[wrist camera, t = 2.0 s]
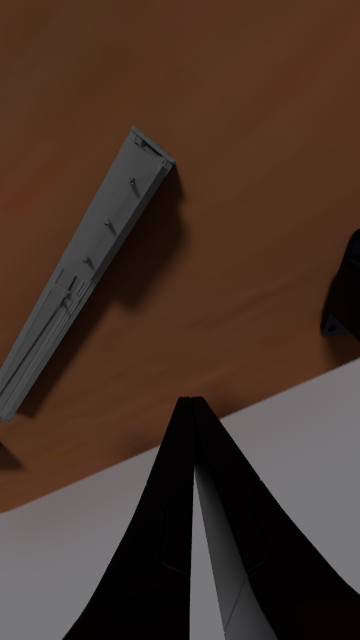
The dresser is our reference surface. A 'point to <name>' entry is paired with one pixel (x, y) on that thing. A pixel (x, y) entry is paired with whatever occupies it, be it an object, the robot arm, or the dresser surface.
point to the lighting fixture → (84, 262)
